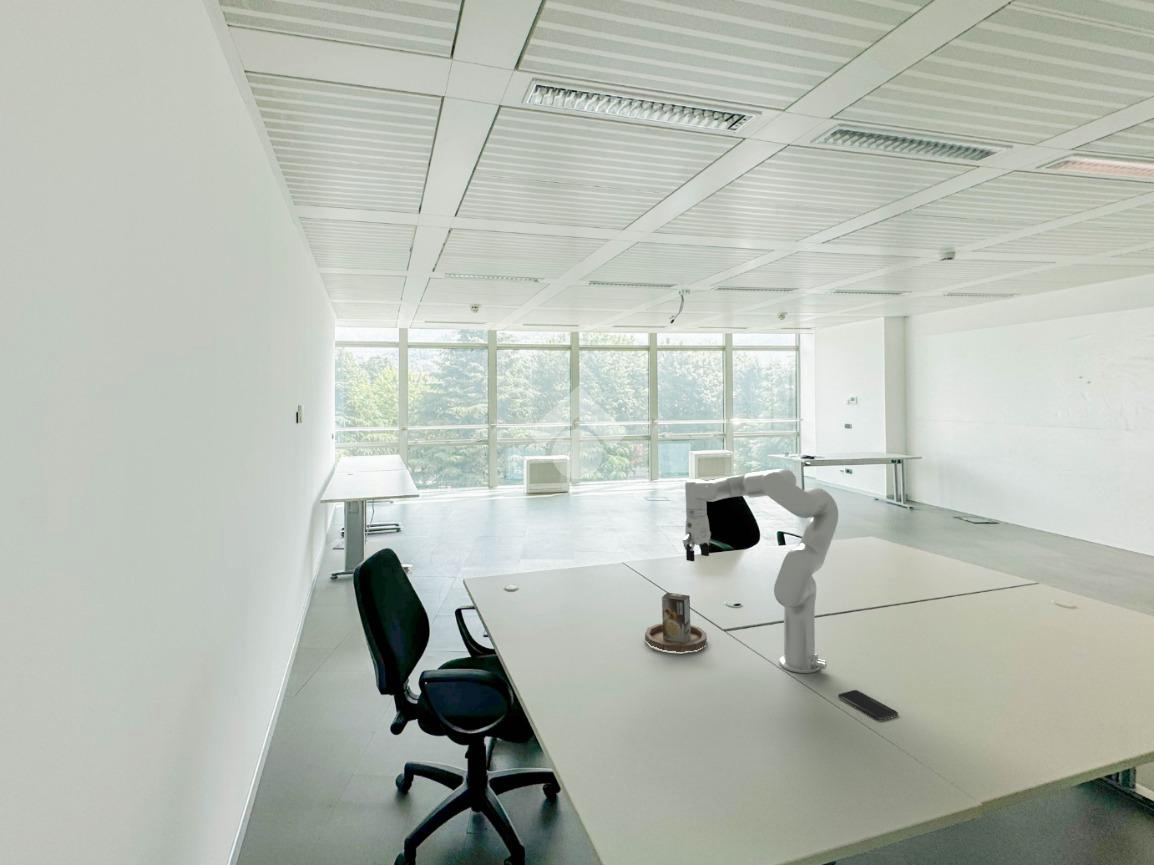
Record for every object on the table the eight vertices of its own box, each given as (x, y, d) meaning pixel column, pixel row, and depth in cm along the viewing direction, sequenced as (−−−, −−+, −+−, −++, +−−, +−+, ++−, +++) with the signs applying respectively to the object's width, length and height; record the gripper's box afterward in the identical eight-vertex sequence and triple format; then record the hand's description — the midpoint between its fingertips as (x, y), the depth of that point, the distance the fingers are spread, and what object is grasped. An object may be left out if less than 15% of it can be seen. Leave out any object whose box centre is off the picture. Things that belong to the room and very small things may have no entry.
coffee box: (691, 637, 218) (690, 595, 218) (685, 644, 213) (685, 600, 212) (668, 633, 223) (667, 592, 222) (662, 639, 217) (661, 596, 217)
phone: (878, 719, 160) (836, 694, 174) (878, 723, 160) (836, 698, 174) (900, 713, 163) (856, 689, 177) (900, 716, 163) (856, 692, 177)
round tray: (717, 641, 217) (717, 633, 217) (682, 659, 202) (682, 650, 202) (670, 626, 233) (670, 618, 233) (633, 642, 218) (633, 634, 218)
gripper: (691, 517, 209) (693, 564, 210) (717, 510, 222) (718, 555, 222) (674, 515, 215) (676, 561, 215) (700, 508, 227) (701, 552, 228)
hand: (697, 558), depth 219 cm, fingers open, 9 cm apart
